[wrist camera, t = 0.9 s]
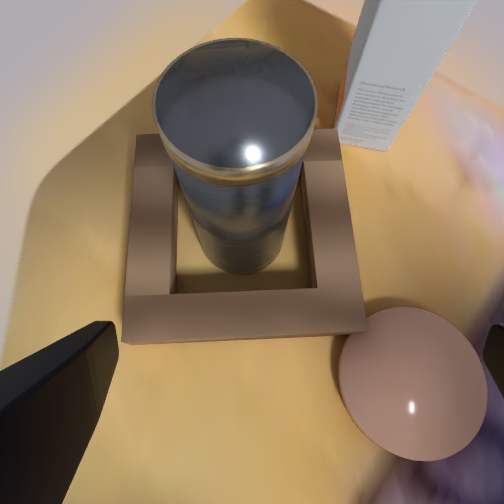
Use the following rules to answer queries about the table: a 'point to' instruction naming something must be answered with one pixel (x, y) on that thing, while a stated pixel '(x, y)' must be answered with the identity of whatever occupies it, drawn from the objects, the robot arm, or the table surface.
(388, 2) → the skincare box
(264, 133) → the tea tin
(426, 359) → the coaster
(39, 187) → the table surface
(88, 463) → the table surface
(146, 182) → the pocket frame
